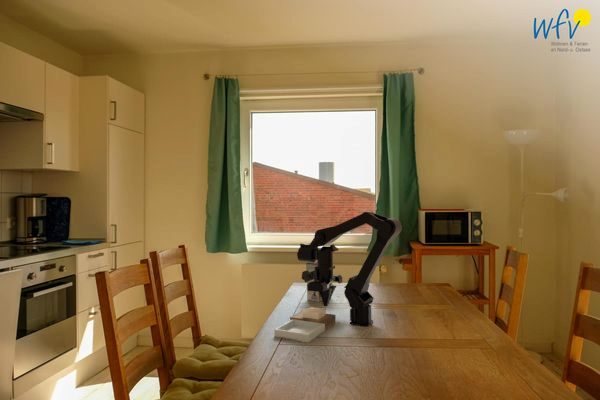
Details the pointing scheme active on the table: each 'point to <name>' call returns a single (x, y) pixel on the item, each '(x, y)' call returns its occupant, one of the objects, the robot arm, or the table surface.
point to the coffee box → (311, 294)
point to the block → (314, 313)
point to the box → (299, 330)
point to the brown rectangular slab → (327, 319)
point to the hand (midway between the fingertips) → (325, 306)
